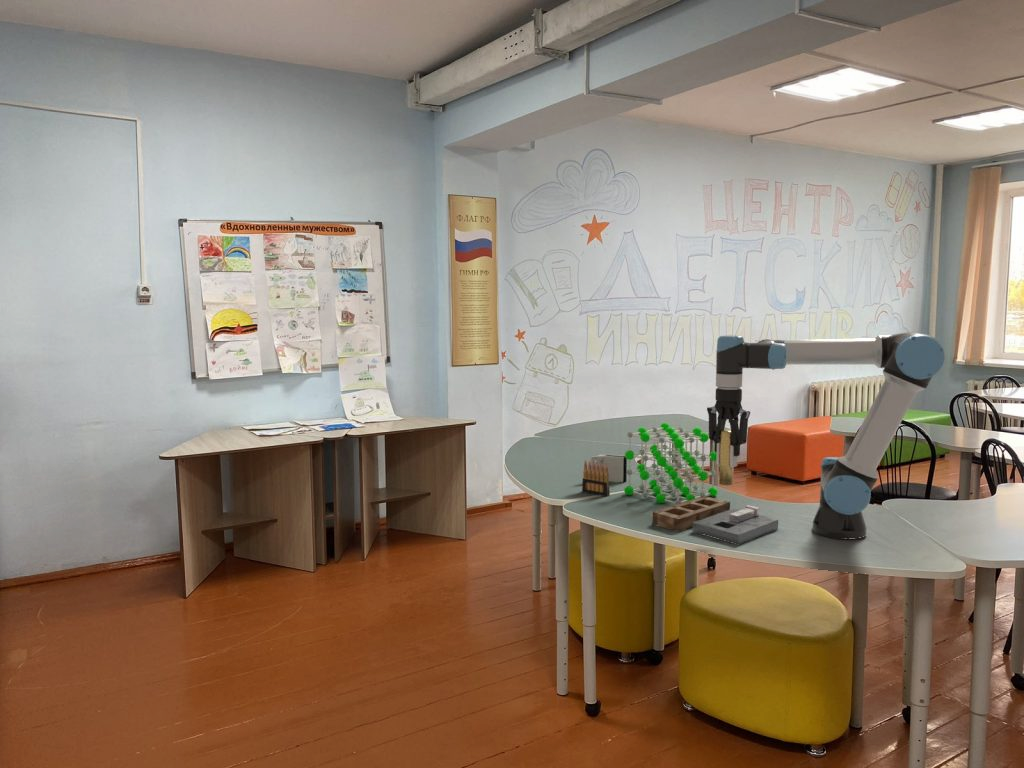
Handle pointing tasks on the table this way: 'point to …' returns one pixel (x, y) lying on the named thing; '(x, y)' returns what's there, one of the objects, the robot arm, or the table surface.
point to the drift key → (744, 514)
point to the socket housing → (735, 527)
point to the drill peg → (725, 458)
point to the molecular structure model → (670, 467)
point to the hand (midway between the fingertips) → (726, 465)
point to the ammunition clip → (595, 479)
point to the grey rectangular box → (613, 466)
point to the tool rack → (689, 512)
